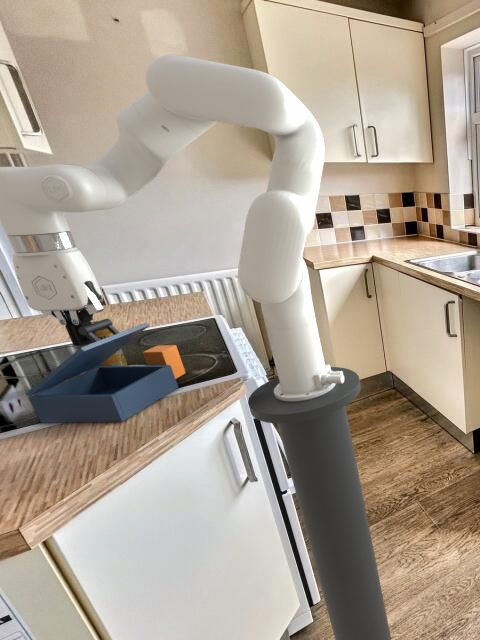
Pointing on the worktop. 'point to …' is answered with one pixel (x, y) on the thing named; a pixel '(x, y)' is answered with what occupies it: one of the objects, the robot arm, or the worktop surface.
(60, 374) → the lid
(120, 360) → the condiment
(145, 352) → the orange rectangular block
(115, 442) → the worktop surface
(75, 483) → the worktop surface
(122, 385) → the lunchbox
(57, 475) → the worktop surface
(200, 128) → the robot arm
